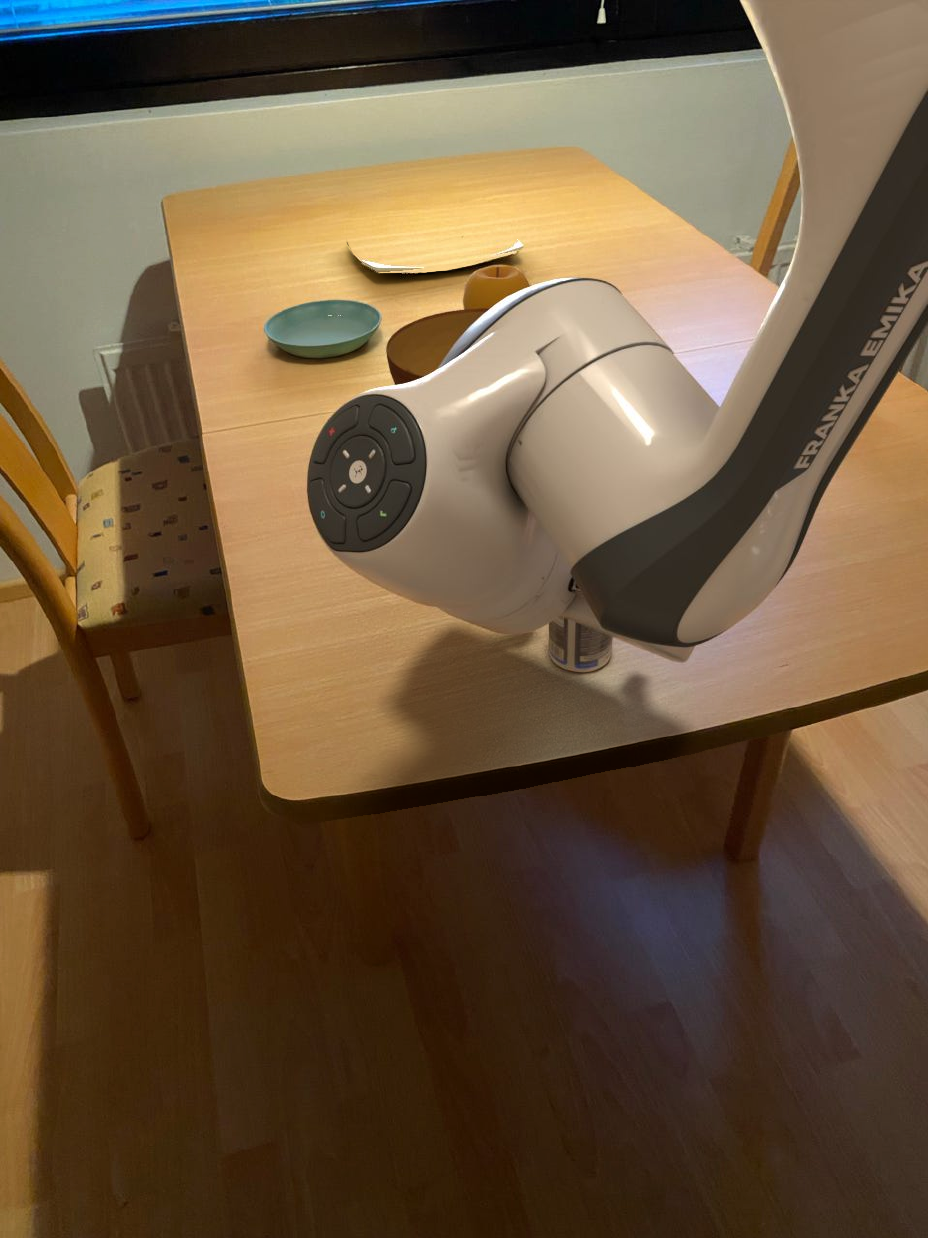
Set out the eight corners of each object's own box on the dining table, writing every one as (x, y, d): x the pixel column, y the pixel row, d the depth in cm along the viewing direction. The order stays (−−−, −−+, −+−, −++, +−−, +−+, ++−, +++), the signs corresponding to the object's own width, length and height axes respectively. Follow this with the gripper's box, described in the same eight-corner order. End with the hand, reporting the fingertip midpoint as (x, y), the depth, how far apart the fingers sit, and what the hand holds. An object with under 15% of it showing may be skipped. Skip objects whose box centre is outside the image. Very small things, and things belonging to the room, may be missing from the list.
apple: (521, 356, 112) (520, 282, 106) (454, 349, 114) (450, 277, 108) (540, 329, 118) (540, 257, 112) (476, 323, 120) (474, 253, 114)
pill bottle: (617, 639, 71) (624, 548, 66) (603, 679, 67) (610, 587, 62) (556, 627, 72) (559, 538, 67) (540, 667, 69) (541, 575, 63)
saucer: (290, 316, 125) (287, 297, 123) (396, 321, 122) (395, 301, 120) (249, 362, 113) (245, 341, 112) (365, 368, 111) (362, 347, 109)
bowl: (374, 415, 101) (364, 326, 95) (523, 384, 105) (523, 297, 99) (426, 494, 88) (419, 396, 82) (594, 454, 93) (599, 359, 86)
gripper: (692, 562, 49) (740, 609, 61) (393, 459, 59) (485, 517, 71) (645, 672, 49) (702, 697, 61) (354, 551, 59) (453, 594, 71)
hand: (584, 600), depth 66 cm, fingers open, 8 cm apart
